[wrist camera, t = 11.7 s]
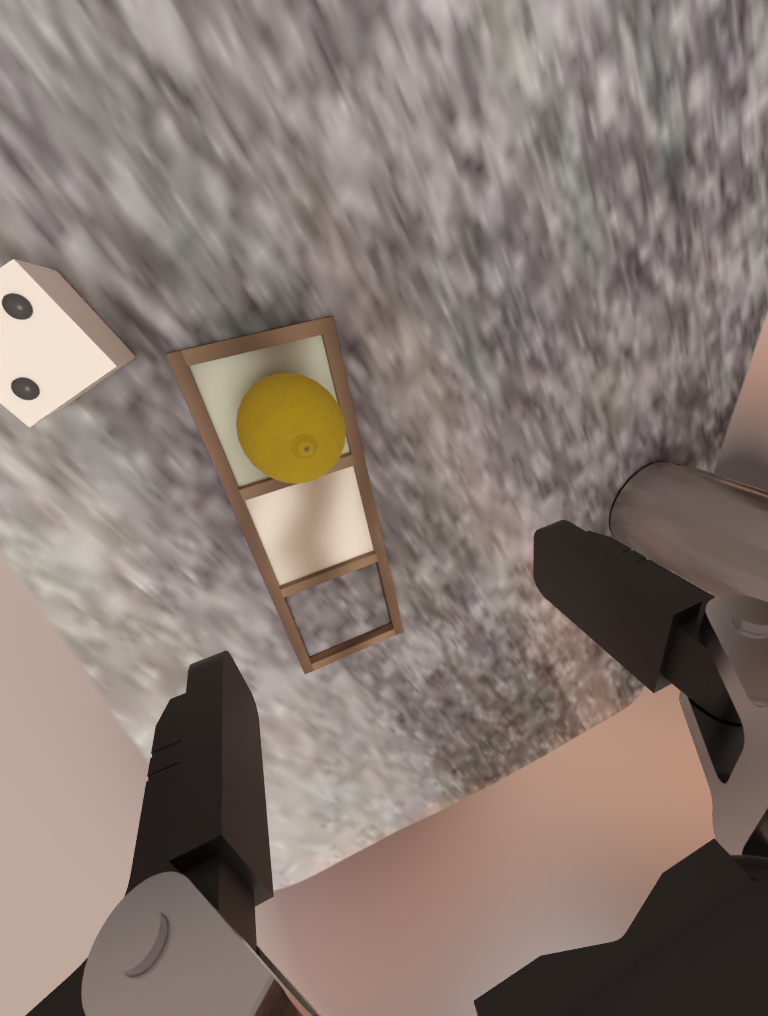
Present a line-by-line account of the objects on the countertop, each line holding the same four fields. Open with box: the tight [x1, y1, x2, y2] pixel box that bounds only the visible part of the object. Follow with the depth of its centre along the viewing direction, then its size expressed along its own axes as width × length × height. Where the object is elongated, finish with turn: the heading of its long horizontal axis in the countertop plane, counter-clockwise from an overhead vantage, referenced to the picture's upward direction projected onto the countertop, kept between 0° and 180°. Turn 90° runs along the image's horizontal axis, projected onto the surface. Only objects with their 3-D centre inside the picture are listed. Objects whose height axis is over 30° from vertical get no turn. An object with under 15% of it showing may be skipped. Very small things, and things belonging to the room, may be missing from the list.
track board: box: [165, 316, 404, 674], centre depth 28 cm, size 9×26×1 cm, turn 11°
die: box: [0, 259, 136, 427], centre depth 18 cm, size 4×4×5 cm
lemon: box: [236, 373, 346, 484], centre depth 21 cm, size 6×6×8 cm
